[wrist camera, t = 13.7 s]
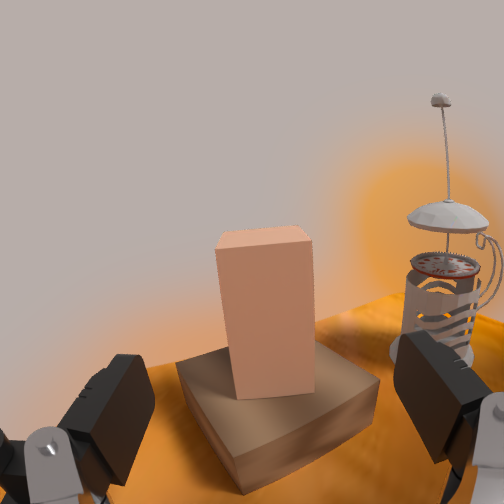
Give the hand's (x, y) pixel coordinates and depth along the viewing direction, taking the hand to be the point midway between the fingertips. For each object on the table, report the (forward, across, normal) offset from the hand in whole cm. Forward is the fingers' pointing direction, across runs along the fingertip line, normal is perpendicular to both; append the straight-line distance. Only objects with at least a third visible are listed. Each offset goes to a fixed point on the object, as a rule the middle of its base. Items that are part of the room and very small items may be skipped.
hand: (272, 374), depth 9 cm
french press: (+16, -18, +13) cm, 27 cm away
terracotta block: (+10, 0, +8) cm, 13 cm away
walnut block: (+10, 0, +13) cm, 17 cm away
